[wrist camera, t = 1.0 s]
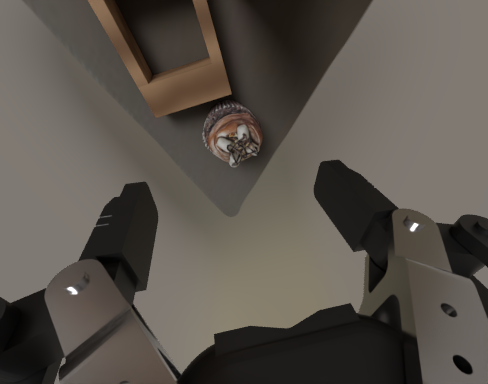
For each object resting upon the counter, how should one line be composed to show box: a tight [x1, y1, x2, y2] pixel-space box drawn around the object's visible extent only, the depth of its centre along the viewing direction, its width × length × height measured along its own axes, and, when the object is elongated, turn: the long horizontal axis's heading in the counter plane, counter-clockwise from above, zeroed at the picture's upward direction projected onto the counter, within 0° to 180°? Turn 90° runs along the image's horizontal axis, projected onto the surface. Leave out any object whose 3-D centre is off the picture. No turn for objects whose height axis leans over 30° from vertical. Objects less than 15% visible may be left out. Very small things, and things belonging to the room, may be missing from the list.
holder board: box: [88, 0, 232, 118], centre depth 26 cm, size 18×12×4 cm, turn 14°
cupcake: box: [202, 100, 263, 167], centre depth 34 cm, size 10×10×10 cm
